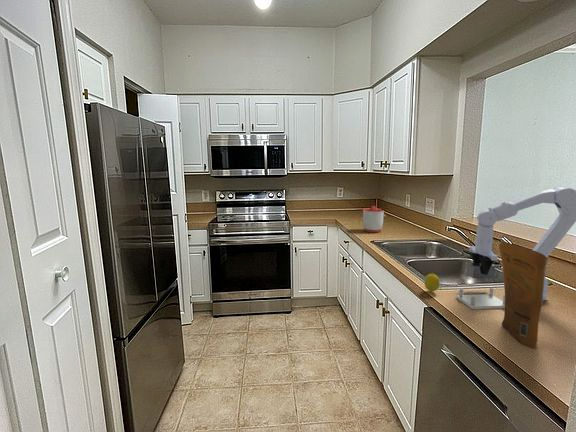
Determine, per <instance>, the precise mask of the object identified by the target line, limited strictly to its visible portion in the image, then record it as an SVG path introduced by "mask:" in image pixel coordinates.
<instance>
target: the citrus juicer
mask: <svg viewBox="0 0 576 432" xmlns="http://www.w3.org/2000/svg"><path fill="white" fill-rule="evenodd" d="M362 211H363V213H362V224H363V225H362V226H363V229H364V232H366V233H378V232H379V233H380V232H381V231H382V229H383V226H384V225H383V224H384V217H386V216H387V215H386V214H385V209H384V210H383V209H382V208H377V207H376V205H372V206H371V207H367V208H363V209H362Z"/></svg>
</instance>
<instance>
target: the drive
mask: <svg viewBox="0 0 576 432" xmlns="http://www.w3.org/2000/svg"><path fill="white" fill-rule="evenodd" d="M495 271H496V265H495V264H493V265H492V266H491V268H490V270H489V272H488V274H487V275H483V274H482V272H481V263H473V262H468V263H467V268H466V276H469V277H470V278H472V279H484V278H485V279H486V278H487V279H488V278H489V279H490V278H491V279H492V278H495Z"/></svg>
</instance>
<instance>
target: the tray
mask: <svg viewBox="0 0 576 432" xmlns="http://www.w3.org/2000/svg"><path fill="white" fill-rule="evenodd" d="M456 299H458V300H459V301H460V302H462V303H463V304H464V305H466V306H467V307H469V308H470V309H472V310H485V309H487V310H489V309H493V310H494V309H505V294H504V295H503V297H502V299H500V298H498V297H496V296H495V295H494V288H493V287H490V288H489V294H487V293H486V294H485V293H483V294H482V293H481V294H464V288H459V294H456Z"/></svg>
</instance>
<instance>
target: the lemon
mask: <svg viewBox="0 0 576 432" xmlns="http://www.w3.org/2000/svg"><path fill="white" fill-rule="evenodd" d="M440 283H441V282H440V279H439V277H438V275H436V274H434V273H433V272H432V273H429V274H427V275H426V276H425V279H424V287H425V288H426V289H427V291H429V292H431V293H432V292H436V291H437V290H438V289H439V287H440V285H441V284H440Z"/></svg>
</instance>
